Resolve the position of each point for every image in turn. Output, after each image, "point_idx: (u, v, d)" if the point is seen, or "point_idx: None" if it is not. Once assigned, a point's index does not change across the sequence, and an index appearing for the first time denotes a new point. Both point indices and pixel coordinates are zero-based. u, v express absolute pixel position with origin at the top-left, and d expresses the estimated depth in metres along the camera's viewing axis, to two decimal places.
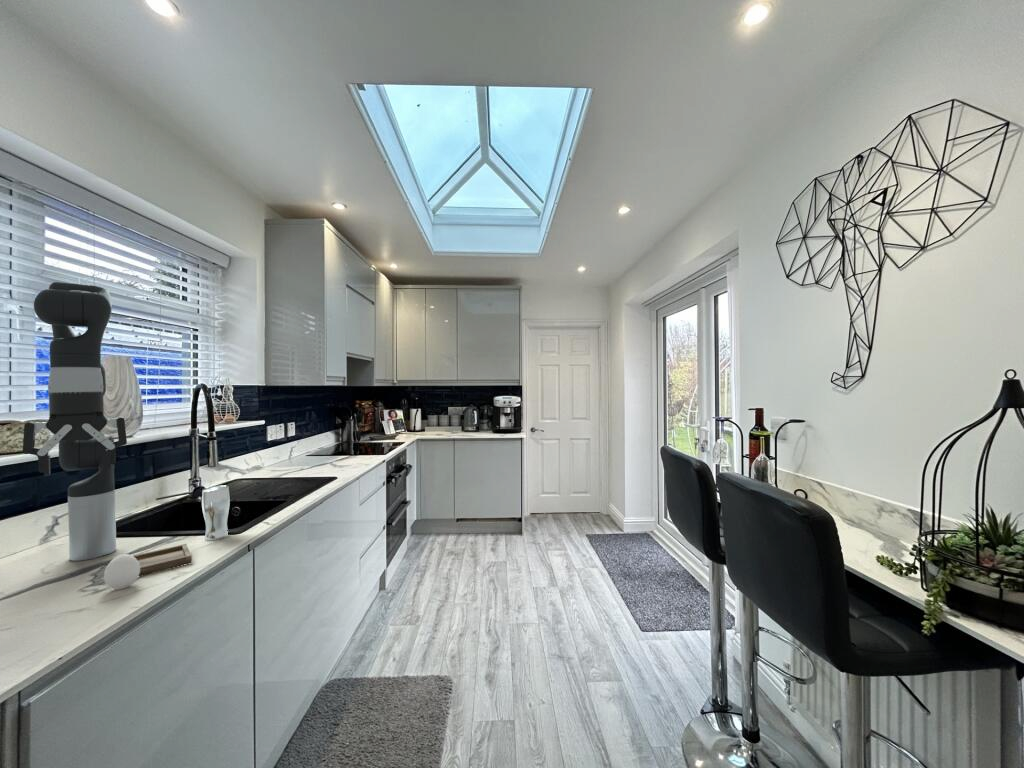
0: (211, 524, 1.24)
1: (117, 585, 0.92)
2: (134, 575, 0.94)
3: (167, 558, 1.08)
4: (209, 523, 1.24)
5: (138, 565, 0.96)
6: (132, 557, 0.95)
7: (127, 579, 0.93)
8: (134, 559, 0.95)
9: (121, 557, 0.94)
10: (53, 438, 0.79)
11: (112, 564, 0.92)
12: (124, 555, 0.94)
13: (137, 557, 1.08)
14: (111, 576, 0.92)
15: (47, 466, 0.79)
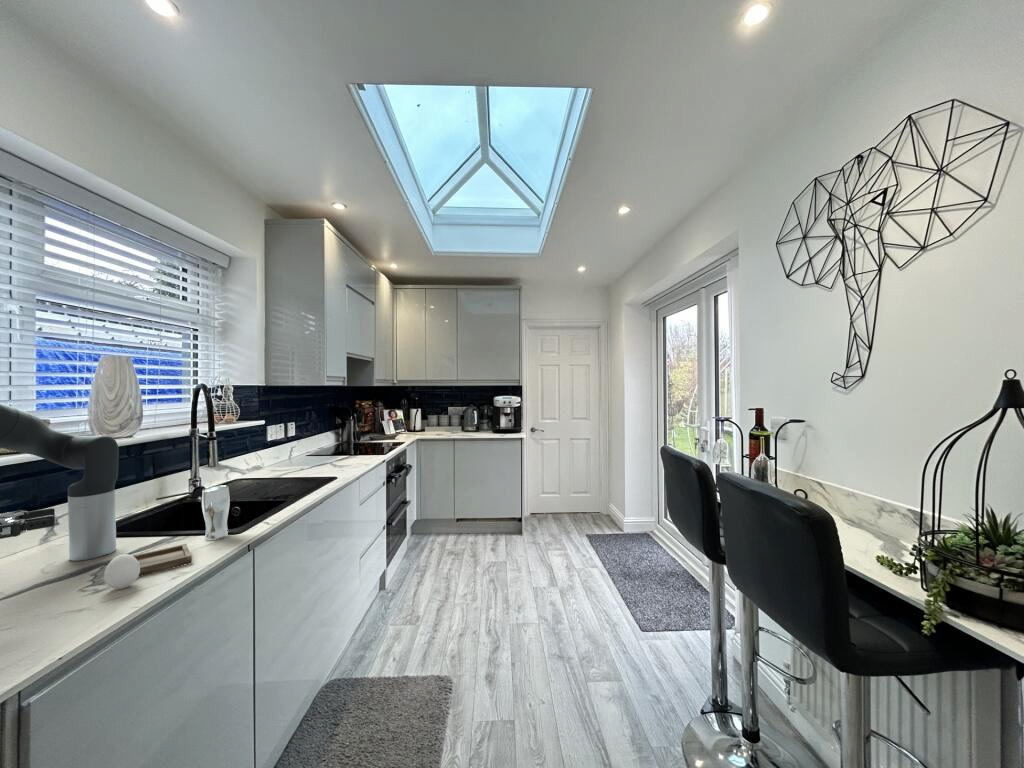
0: (211, 524, 1.24)
1: (117, 585, 0.92)
2: (134, 575, 0.94)
3: (167, 558, 1.08)
4: (209, 523, 1.24)
5: (138, 565, 0.96)
6: (132, 557, 0.95)
7: (127, 579, 0.93)
8: (134, 559, 0.95)
9: (121, 557, 0.94)
10: None
11: (112, 564, 0.92)
12: (124, 555, 0.94)
13: (137, 557, 1.08)
14: (111, 576, 0.92)
15: None
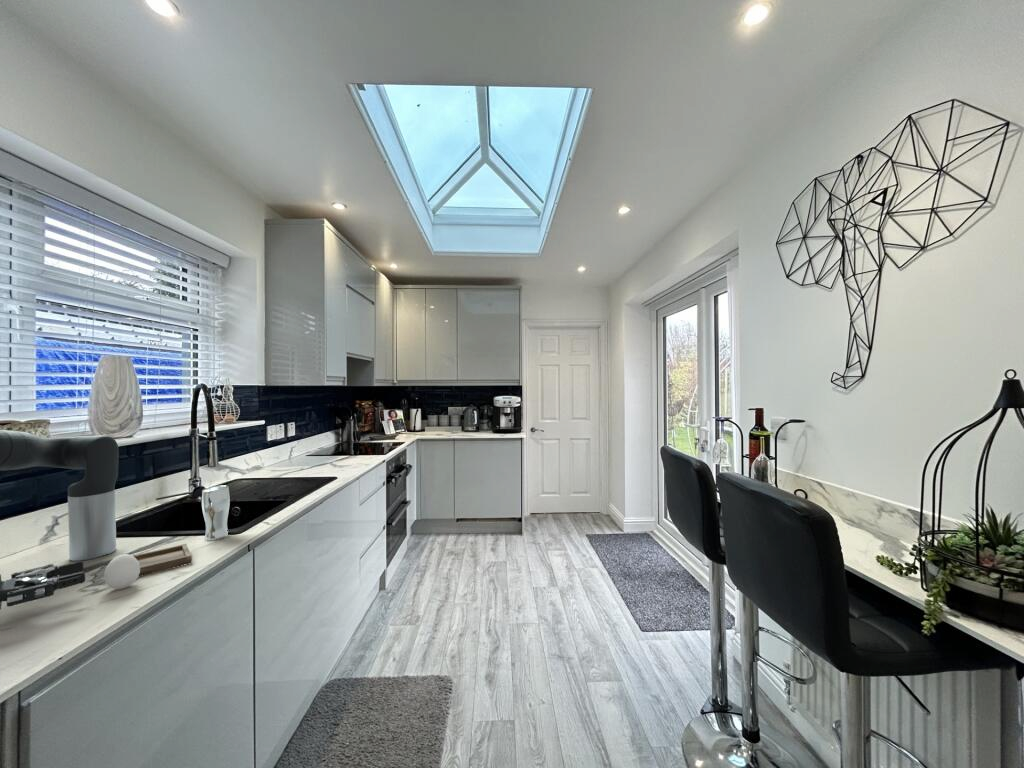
0: (211, 524, 1.24)
1: (117, 585, 0.92)
2: (134, 575, 0.94)
3: (167, 558, 1.08)
4: (209, 523, 1.24)
5: (138, 565, 0.96)
6: (132, 557, 0.95)
7: (127, 579, 0.93)
8: (134, 559, 0.95)
9: (121, 557, 0.94)
10: None
11: (112, 564, 0.92)
12: (124, 555, 0.94)
13: (137, 557, 1.08)
14: (111, 576, 0.92)
15: (72, 573, 0.91)
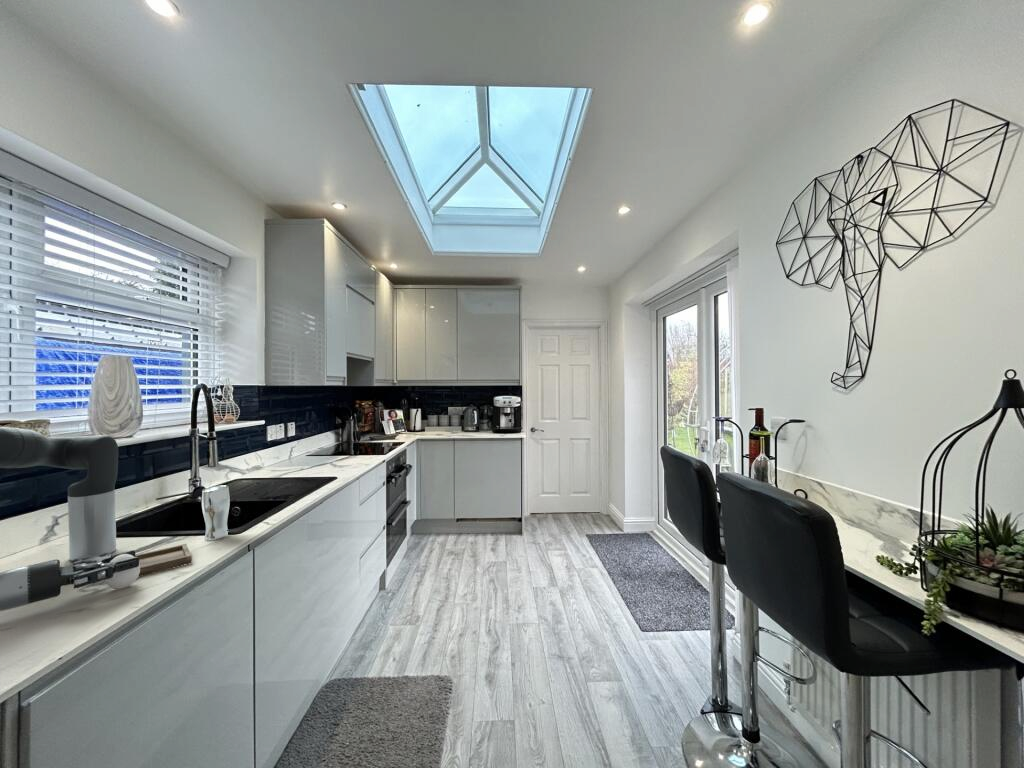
0: (211, 524, 1.24)
1: (117, 585, 0.92)
2: (134, 575, 0.94)
3: (167, 558, 1.08)
4: (209, 523, 1.24)
5: None
6: (132, 557, 0.95)
7: (127, 579, 0.93)
8: None
9: (121, 557, 0.94)
10: None
11: None
12: (124, 555, 0.94)
13: None
14: None
15: None
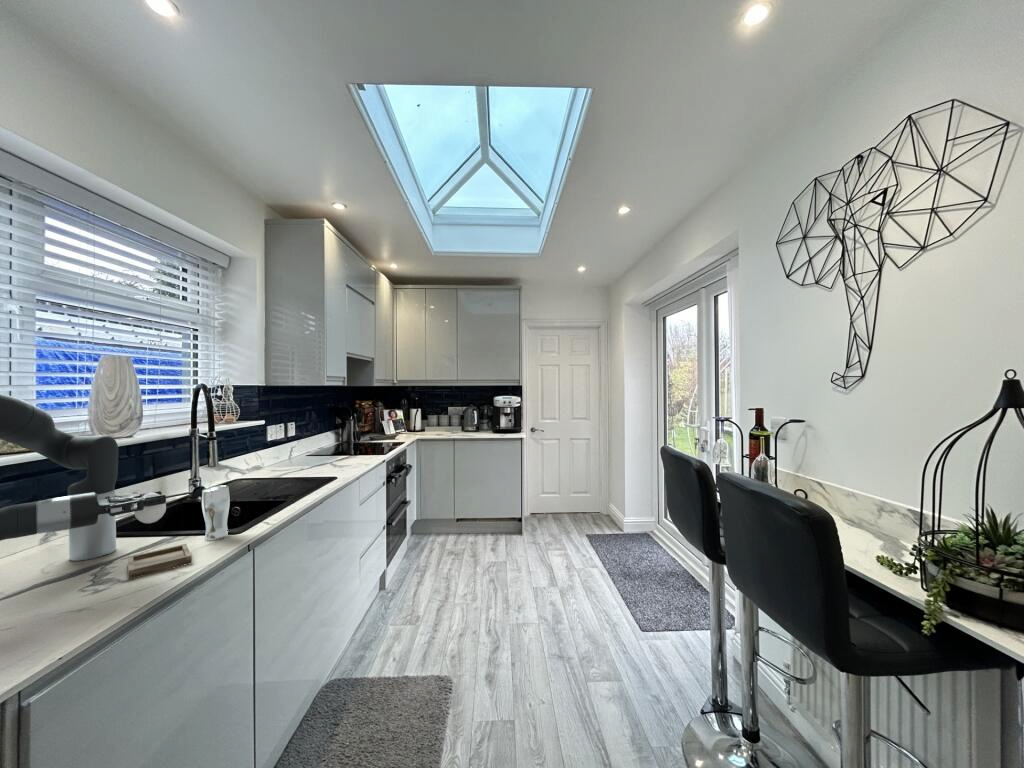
0: (211, 524, 1.24)
1: (146, 518, 1.02)
2: (161, 511, 1.04)
3: (167, 558, 1.08)
4: (209, 523, 1.24)
5: (164, 503, 1.06)
6: None
7: (155, 514, 1.03)
8: None
9: (150, 494, 1.04)
10: None
11: None
12: (152, 493, 1.04)
13: (137, 557, 1.08)
14: (141, 510, 1.01)
15: None
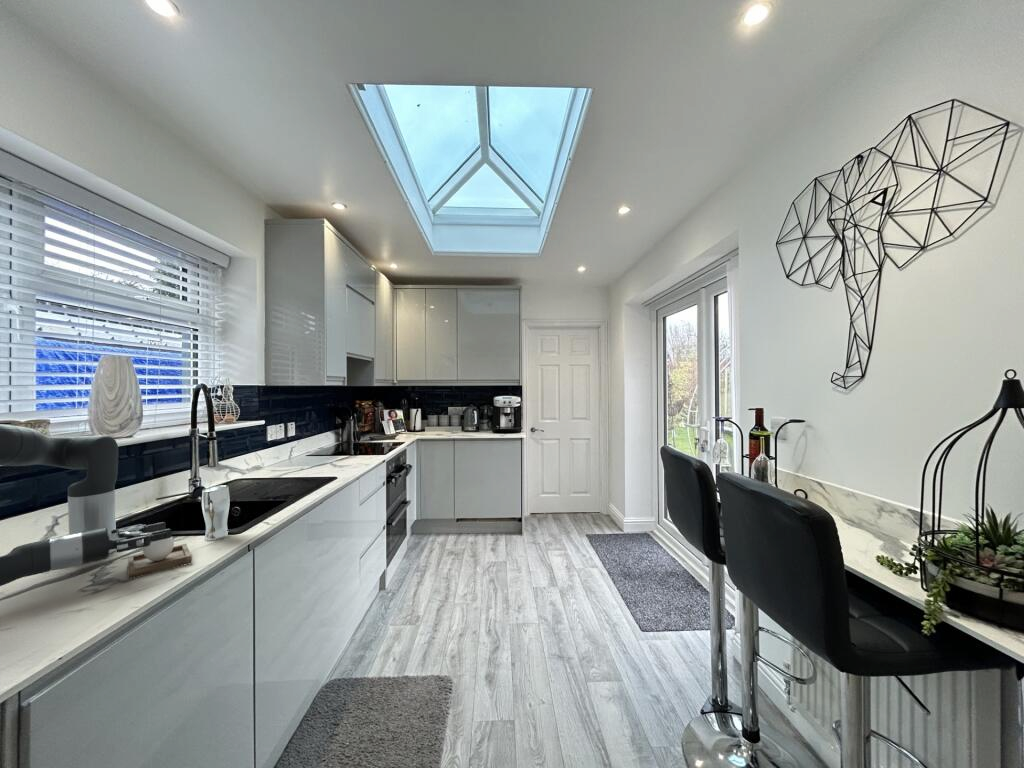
0: (211, 524, 1.24)
1: (154, 557, 1.05)
2: (169, 549, 1.07)
3: (167, 558, 1.08)
4: (209, 523, 1.24)
5: (172, 540, 1.08)
6: None
7: (163, 552, 1.06)
8: None
9: None
10: None
11: None
12: None
13: (137, 557, 1.08)
14: (149, 549, 1.04)
15: None
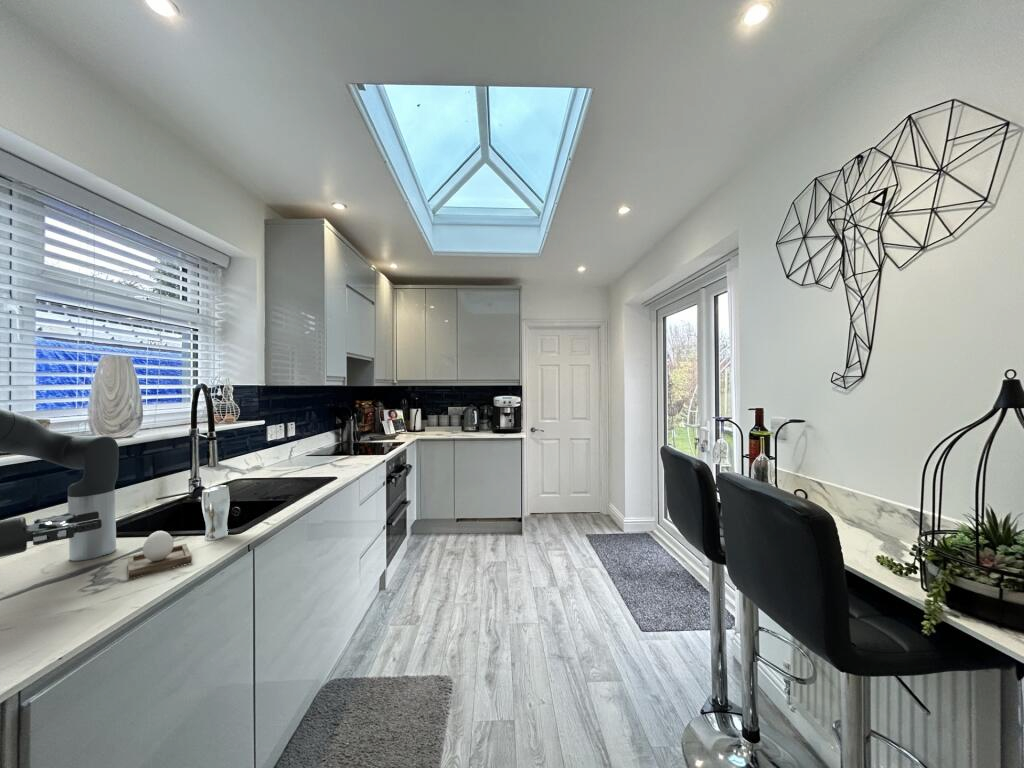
0: (211, 524, 1.24)
1: (154, 557, 1.05)
2: (169, 549, 1.07)
3: (167, 558, 1.08)
4: (209, 523, 1.24)
5: (172, 540, 1.08)
6: (167, 533, 1.08)
7: (163, 552, 1.06)
8: (168, 535, 1.08)
9: (157, 533, 1.06)
10: None
11: (150, 539, 1.05)
12: (160, 531, 1.07)
13: (137, 557, 1.08)
14: (149, 549, 1.04)
15: None
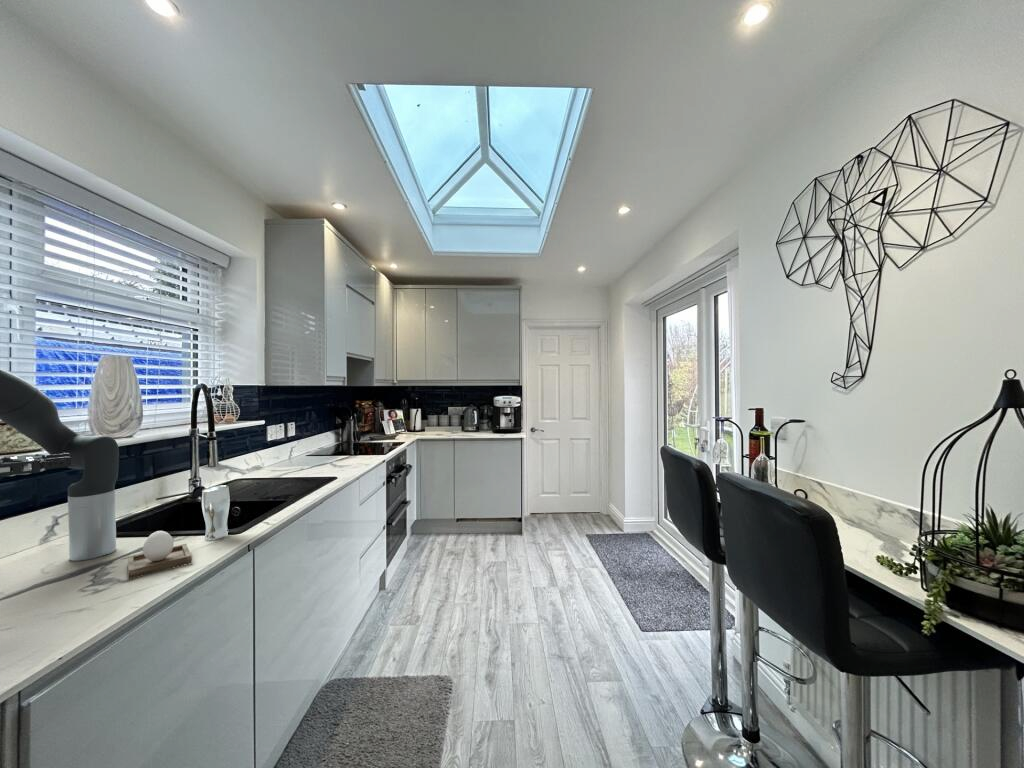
0: (211, 524, 1.24)
1: (154, 557, 1.05)
2: (169, 549, 1.07)
3: (167, 558, 1.08)
4: (209, 523, 1.24)
5: (172, 540, 1.08)
6: (167, 533, 1.08)
7: (163, 552, 1.06)
8: (168, 535, 1.08)
9: (157, 533, 1.06)
10: (23, 470, 0.90)
11: (150, 539, 1.05)
12: (160, 531, 1.07)
13: (137, 557, 1.08)
14: (149, 549, 1.04)
15: None
